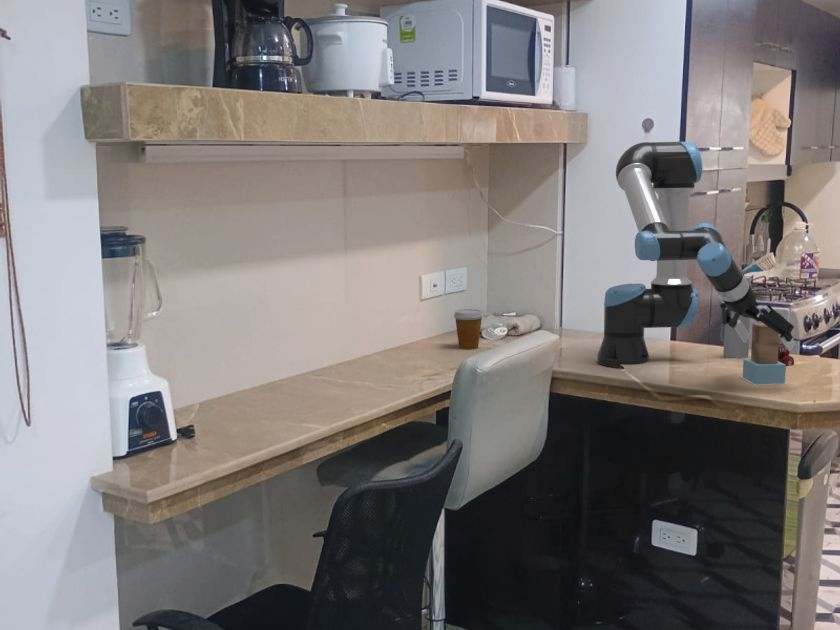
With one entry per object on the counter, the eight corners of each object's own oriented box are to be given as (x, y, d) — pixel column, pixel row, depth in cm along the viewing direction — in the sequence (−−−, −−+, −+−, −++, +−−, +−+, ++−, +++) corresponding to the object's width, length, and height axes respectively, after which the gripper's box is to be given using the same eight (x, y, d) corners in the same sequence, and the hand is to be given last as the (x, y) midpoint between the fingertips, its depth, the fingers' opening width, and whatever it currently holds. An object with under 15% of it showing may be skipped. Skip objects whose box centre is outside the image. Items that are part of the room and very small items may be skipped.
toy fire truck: (748, 369, 261) (749, 333, 259) (777, 364, 267) (779, 329, 265) (767, 374, 255) (769, 337, 253) (797, 368, 261) (799, 333, 259)
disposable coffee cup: (452, 345, 301) (451, 309, 299) (480, 344, 302) (480, 308, 300) (456, 350, 292) (456, 314, 290) (485, 349, 293) (485, 313, 291)
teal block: (742, 377, 246) (743, 359, 245) (771, 376, 246) (772, 358, 246) (755, 384, 238) (756, 365, 237) (784, 383, 239) (785, 364, 238)
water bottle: (754, 359, 273) (758, 277, 269) (737, 363, 268) (741, 279, 264) (728, 354, 280) (731, 274, 276) (711, 358, 276) (715, 276, 272)
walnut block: (750, 360, 244) (752, 323, 242) (768, 359, 244) (770, 323, 242) (759, 364, 239) (760, 326, 237) (777, 363, 239) (779, 326, 237)
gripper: (688, 297, 240) (723, 346, 251) (771, 309, 220) (804, 361, 230) (702, 276, 242) (736, 325, 253) (786, 285, 222) (818, 338, 232)
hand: (769, 342), depth 242 cm, fingers open, 13 cm apart
